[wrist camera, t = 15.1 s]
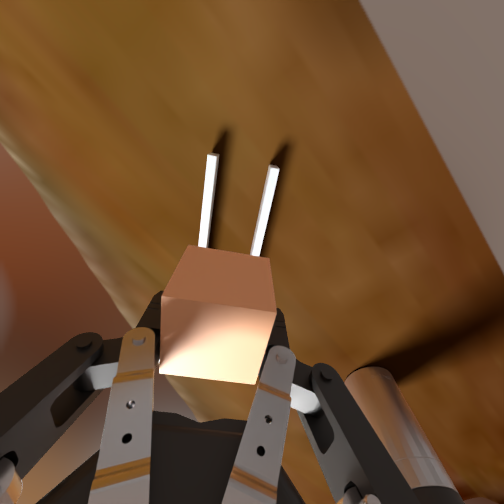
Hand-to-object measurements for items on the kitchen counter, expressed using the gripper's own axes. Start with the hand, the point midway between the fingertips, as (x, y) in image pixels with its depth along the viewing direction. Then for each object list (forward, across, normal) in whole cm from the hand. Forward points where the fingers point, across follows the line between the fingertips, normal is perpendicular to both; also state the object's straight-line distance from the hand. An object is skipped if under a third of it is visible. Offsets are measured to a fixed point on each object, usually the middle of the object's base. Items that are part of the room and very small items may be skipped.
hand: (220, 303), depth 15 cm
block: (0, 0, -1) cm, 1 cm away
